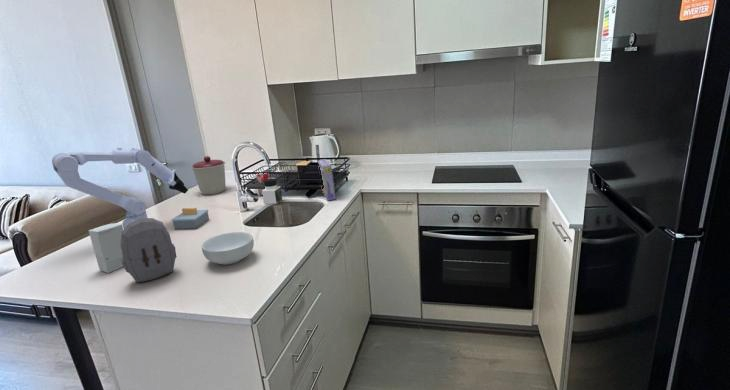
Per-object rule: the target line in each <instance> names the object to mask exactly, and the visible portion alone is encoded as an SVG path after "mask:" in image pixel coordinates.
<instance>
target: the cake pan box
mask: <svg viewBox="0 0 730 390" xmlns="http://www.w3.org/2000/svg"><path fill="white" fill-rule="evenodd" d="M318 164H319V166H318V168H319V167H320V170H321V175H322V180H323V185H324V188H323V189H322V188H321V192H322V191H323V192H322V194H323V193H324V194H323V195H324V197H325V199H326V200H327V201H335V199H337V198H336V189H335V182H334V175H333V167H332V164H331V163H330V162H329V161H328V160H327V159H326V158H325V159H319V160H317V165H318Z"/></svg>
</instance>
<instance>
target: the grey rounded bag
mask: <svg viewBox="0 0 730 390" xmlns="http://www.w3.org/2000/svg"><path fill="white" fill-rule="evenodd" d="M121 233H122V235H121V244H120V245H121V250H122V254H123V257H122V258H121V260H122V265H123V266H124V269H125V272H126V273H128V274H130V276H131V277H132V279H133V280H134V281H135V282H136V283H141V282H147V281H150V280H151V281H152V280H155V279H158V278H160V277H164V276H166V275H169V273H172V272H173V271H174V270H175V264H176V263H175V262H176V259H177V257H178V256H177V252H176V247H175V245H174V243H172V242H173V241H172V240H171V239H172V238H171V235H170V232H169V230H167V228H166V226H165V225H164V222H163V221H160V220H159V219H156V218H153V217H147V218H141V219H138V220H136V221H134V222H131V223H129V224H128V225H127V226H126V228H125V229H123V231H122V232H121Z"/></svg>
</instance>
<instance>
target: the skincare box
mask: <svg viewBox="0 0 730 390" xmlns="http://www.w3.org/2000/svg"><path fill="white" fill-rule="evenodd" d="M123 230H124V229H123V225H122V223H115V222H111V223H108V224H104V225H101V226H98V227H95V228H92V229H89V230H88V233H89V237H90V241H91V244H92V247H93V250H94V254H95V258H96V262H97V266H98V268H99V271H101V272H104V273H106V274H110V273H112V272H114V271H117V270H119V269H121V268H123V267H124V266H123V265H122V260H121V258H122V257H123V254H122V250H121V245H120V244H121V235H122V233H121V232H122V231H123ZM124 268H125V267H124Z"/></svg>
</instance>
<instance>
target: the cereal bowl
mask: <svg viewBox="0 0 730 390" xmlns="http://www.w3.org/2000/svg"><path fill="white" fill-rule="evenodd" d="M254 244H255V240H254V236H253V235H252V234H251V233H249V232H246V231H234V232H232V231H231V232H227V233H226V232H225V233H221V234H218V235H215V236H212V237H210V238H208V239H206V240H205V241H203V242H202V244H201V251H202V252H201V253H202V254H203V257H204V258H205V259H206V260H207V261H208V262H210V263H213V264H219V265H223V266H224V265H228V266H229V265H232V264H236V263H239V262H240V261H241V260H243V259H244V258H246V257H247V256H248V255H250V254H251V253H252V250H253V248H254Z"/></svg>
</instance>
